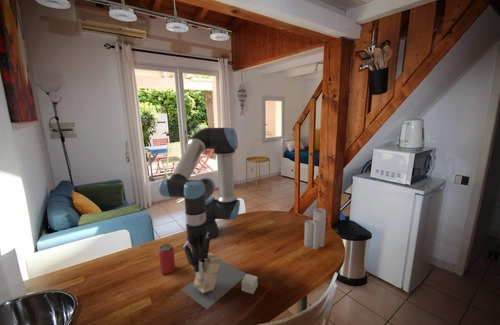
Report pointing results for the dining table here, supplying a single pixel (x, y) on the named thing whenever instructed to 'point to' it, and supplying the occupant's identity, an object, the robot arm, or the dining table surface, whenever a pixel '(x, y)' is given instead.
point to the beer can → (166, 259)
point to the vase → (315, 229)
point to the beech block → (208, 274)
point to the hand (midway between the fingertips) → (199, 277)
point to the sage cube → (249, 283)
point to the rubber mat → (216, 285)
